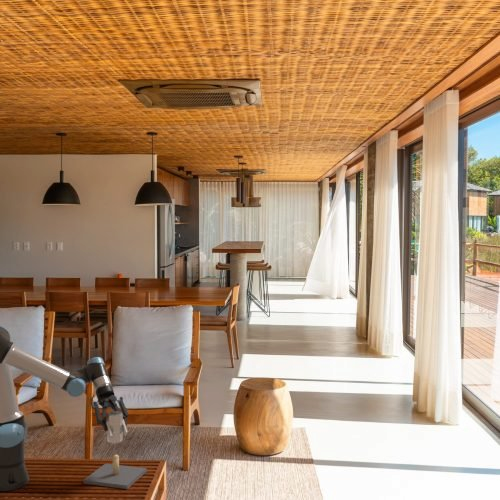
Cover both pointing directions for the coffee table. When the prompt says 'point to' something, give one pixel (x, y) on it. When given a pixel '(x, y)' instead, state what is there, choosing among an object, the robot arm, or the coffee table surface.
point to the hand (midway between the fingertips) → (118, 435)
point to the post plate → (115, 475)
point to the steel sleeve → (115, 426)
